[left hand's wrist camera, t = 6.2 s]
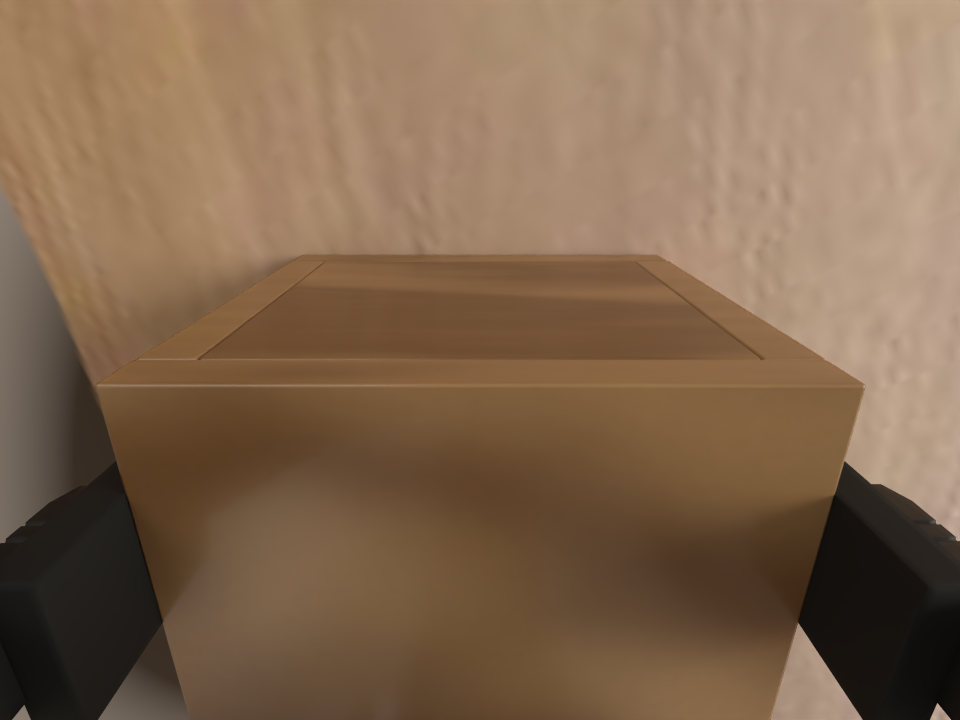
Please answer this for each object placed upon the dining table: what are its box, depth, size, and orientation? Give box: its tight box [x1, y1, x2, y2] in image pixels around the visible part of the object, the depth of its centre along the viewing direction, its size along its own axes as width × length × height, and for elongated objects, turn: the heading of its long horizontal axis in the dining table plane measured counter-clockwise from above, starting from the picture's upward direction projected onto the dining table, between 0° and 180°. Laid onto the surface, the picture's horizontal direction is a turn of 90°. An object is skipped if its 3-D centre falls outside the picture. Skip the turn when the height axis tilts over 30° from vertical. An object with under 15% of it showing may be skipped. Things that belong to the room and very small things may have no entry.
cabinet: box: [96, 255, 865, 720], centre depth 16 cm, size 17×11×10 cm, turn 0°
